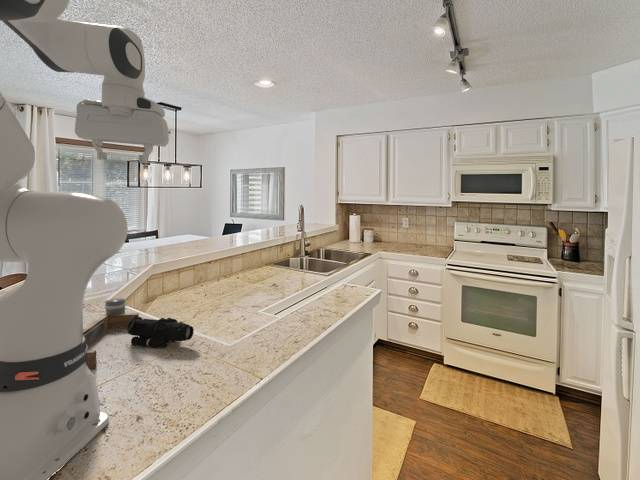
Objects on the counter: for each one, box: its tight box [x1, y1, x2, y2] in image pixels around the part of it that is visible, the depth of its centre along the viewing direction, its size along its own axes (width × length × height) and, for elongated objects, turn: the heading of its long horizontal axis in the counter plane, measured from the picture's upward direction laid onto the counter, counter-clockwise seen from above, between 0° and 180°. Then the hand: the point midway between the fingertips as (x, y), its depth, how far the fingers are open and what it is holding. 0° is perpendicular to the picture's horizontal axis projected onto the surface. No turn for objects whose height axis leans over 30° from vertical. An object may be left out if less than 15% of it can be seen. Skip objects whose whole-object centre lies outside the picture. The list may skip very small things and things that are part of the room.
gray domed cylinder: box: [104, 297, 127, 314], centre depth 101 cm, size 5×5×7 cm
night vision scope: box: [127, 315, 195, 349], centre depth 87 cm, size 8×18×10 cm
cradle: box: [83, 313, 140, 371], centre depth 85 cm, size 26×9×4 cm, turn 9°
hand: (122, 161), depth 80 cm, fingers open, 8 cm apart
